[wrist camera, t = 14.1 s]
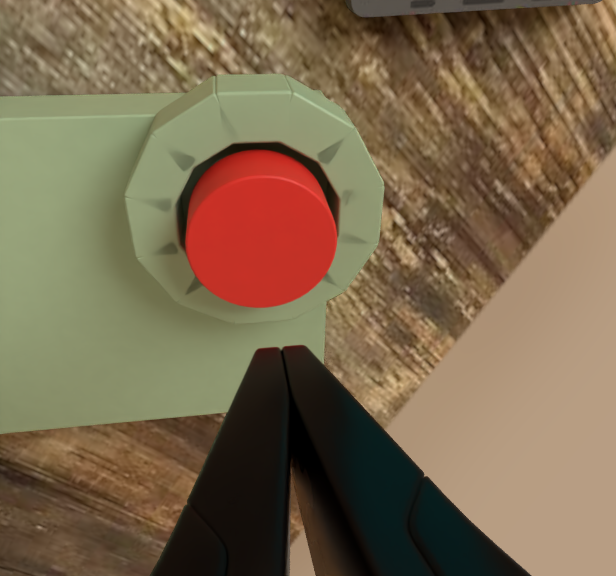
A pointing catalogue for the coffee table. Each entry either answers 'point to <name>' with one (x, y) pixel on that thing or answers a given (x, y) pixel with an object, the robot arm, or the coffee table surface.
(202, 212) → the button
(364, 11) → the smartphone
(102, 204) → the button box
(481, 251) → the coffee table surface
